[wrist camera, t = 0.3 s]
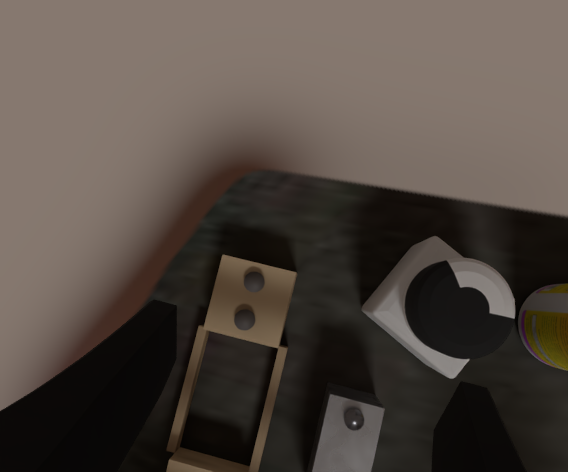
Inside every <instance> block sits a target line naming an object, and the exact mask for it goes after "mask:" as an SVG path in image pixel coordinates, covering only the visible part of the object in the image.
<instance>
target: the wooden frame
mask: <svg viewBox="0 0 568 472" xmlns="http://www.w3.org/2000/svg"><path fill="white" fill-rule="evenodd" d="M296 276H297V273H296V272H292V271H288V270H284V269H280V268H276V267H272V266H268V265H264V264H260V263H256V262H251V261H247V260H243V259H239V258H235V257H231V256H227V255H222V259H221V263H220V266H219V270H218V274H217V278H216V282H215V286H214V289H213V293H212V297H211V301H210V305H209V309H208V313H207V316H206V320H205V324H204V325H200V326H199V327H198V331H197V335H196V338H195V342H194V346H193V350H192V354H191V358H190V361H189V365H188V369H187V373H186V377H185V381H184V384H183V388H182V392H181V396H180V400H179V404H178V407H177V411H176V415H175V419H174V423H173V427H172V430H171V434H170V438H169V442H168V446H167V450H166V451H169V452H173V453H174V454H173V456H172V457H171V458H170V459H169V463H168V467H167V470H166V472H258V470H259V466H260V462H261V457H262V453H263V449H264V445H265V441H266V437H267V433H268V428H269V424H270V420H271V416H272V412H273V408H274V403H275V399H276V395H277V391H278V387H279V383H280V378H281V374H282V370H283V366H284V362H285V358H286V353H287V349H288V346H284V345H281V344H280V342H281V338H282V334H283V330H284V326H285V322H286V317H287V313H288V309H289V305H290V301H291V297H292V293H293V289H294V284H295V280H296ZM209 331H212V332H216V333H220V334H224V335H228V336H232V337H236V338H240V339H243V340H247V341H251V342H255V343H259V344H263V345H267V346H271V347H275V348H278V347H279V348H278V352H277V356H276V361H275V365H274V369H273V373H272V377H271V381H270V385H269V390H268V394H267V398H266V402H265V406H264V410H263V414H262V418H261V423H260V427H259V431H258V435H257V439H256V443H255V447H254V451H253V456H252V460H251V464H250V466H247V465H243V464H239V463H236V462H232V461H228V460H225V459H221V458H218V457H214V456H210V455H207V454H203V453H199V452H196V451H192V450H189V449H185V448H181V447H180V444H181V440H182V436H183V432H184V428H185V424H186V420H187V417H188V413H189V409H190V405H191V401H192V397H193V393H194V389H195V386H196V382H197V378H198V374H199V370H200V366H201V362H202V359H203V355H204V351H205V347H206V343H207V339H208V335H209Z"/></svg>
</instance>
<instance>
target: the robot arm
mask: <svg viewBox="0 0 568 472" xmlns="http://www.w3.org/2000/svg"><path fill="white" fill-rule="evenodd" d="M176 341H177V306H176V305H173V304H169V303H165V302H161V301H158V300H153V301H151V302H149V303H148V304H147V305H146V306H145V307H144V308H142V309H141V310H140V311H139V312H138V313H137V314H135V315H134V316H133V317H132V318H131V319H129V320H128V321H127V322H126V323H125V324H123V325H122V326H121V327H120V328H119V329H118V330H116V331H115V332H114V333H113V334H111V335H110V336H109V337H108V338H106V339H105V340H104V341H102V342H101V343H100V344H98V345H97V346H96V347H95V348H93V349H92V350H91V351H90V352H88V353H87V354H86V355H84V356H83V357H82V358H80V359H79V360H78V361H76V362H75V363H73V364H72V365H70V366H69V367H68V368H66V369H65V370H64V371H62V372H61V373H59V374H58V375H56V376H55V377H53V378H52V379H51V380H49V381H48V382H46V383H45V384H43V385H42V386H40V387H39V388H37V389H36V390H34V391H33V392H31V393H29V394H28V395H26V396H24V397H23V398H21V399H20V400H18V401H16V402H15V403H13V404H11V405H10V406H8V407H6V408H5V409H3V410H1V411H0V472H117V470H118V469H119V467H120V465H121V464H122V462H123V460H124V458H125V457H126V455H127V453H128V451H129V450H130V448H131V446H132V444H133V443H134V441H135V439H136V437H137V436H138V434H139V432H140V430H141V429H142V427H143V425H144V424H145V422H146V420H147V418H148V416H149V415H150V413H151V411H152V409H153V408H154V406H155V404H156V402H157V401H158V399H159V397H160V395H161V393H162V391H163V389H164V386H165V384H166V382H167V380H168V377H169V375H170V372H171V370H172V368H173V365H174V363H175V360H176ZM432 472H527V471H526V469H525V467H524V465H523V463H522V461H521V459H520V457H519V455H518V453H517V451H516V449H515V447H514V445H513V443H512V441H511V439H510V436H509V434H508V432H507V430H506V428H505V426H504V423H503V421H502V419H501V417H500V415H499V412H498V410H497V408H496V406H495V404H494V401H493V399H492V397H491V395H490V392H489V391H488V389H487V388H485V387H481V386H477V385H473V384H470V383H466V382H462V381H461V382H460V384H459V386H458V388H457V389H456V391H455V393H454V395H453V397H452V398H451V400H450V402H449V404H448V406H447V407H446V409H445V411H444V413H443V414H442V416H441V418H440V420H439V422H438V423H437V425H436V427H435V429H434V437H433V452H432Z"/></svg>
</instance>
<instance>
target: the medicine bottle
mask: <svg viewBox="0 0 568 472" xmlns="http://www.w3.org/2000/svg"><path fill="white" fill-rule="evenodd" d="M362 311H363V312H364V313H365V314H366V315H367V316H368V317H369V318H371V319H372V320H373V321H374V322H375V323H377V324H378V325H379V326H380V327H381V328H383V329H384V330H385V331H386V332H387V333H389V334H390V335H391V336H392V337H393V338H395V339H396V340H397V341H398V342H399V343H400V344H402V345H403V346H404V347H405V348H406V349H408V350H409V351H410V352H411V353H412V354H414V355H415V356H416V357H417V358H418V359H420V360H421V361H422V362H423V363H424V364H426V365H427V366H429V367H431V368H433V369H434V370H436V371H438V372H439V373H441V374H443V375H444V376H446V377H448V378H450V379H452V378H455V377H456V376H457V375H458V373H459V372H460V371H461V370H462V368H463V367H464V366H465V365H466V363H467V362H468V361H469V360H470V359H475V358H480V357H483V356H486V355H488V354H490V353H492V352H493V351H495V350H496V349H497V348H499V347H500V346H501V345H502V344H503V342H504V341H505V340H506V339H507V337H508V335H509V334H510V332H511V329H512V327H513V323H514V319H515V299H514V298H513V295H512V292H511V290H510V288H509V286H508V284H507V282H506V281H505V279H504V278H503V277H502V276H501V275H500V274H499V273H498V272H497V271H496V270H495V269H494V268H492V267H491V266H489V265H488V264H485V263H483V262H481V261H478V260H475V259H470V258H464V257H462V256H461V255H460V254H459V253H457V252H456V251H455V250H454V249H452V248H451V247H450V246H449V245H447V244H446V243H445V242H444V241H442V240H441V239H440V238H439V237H437V236H433V237H430V238H428V239H426V240H424V241H422V242H420V243H417V244H415V245H413V246H412V247H411V248H410V249H409V250H408V251H407V253H406V254H405V255H404V256H403V257H402V259H401V260H400V261H399V262H398V263H397V265H396V266H395V267H394V268H393V270H392V271H391V272H390V273H389V274H388V276H387V277H386V278H385V279H384V280H383V282H382V283H381V284H380V285H379V287H378V288H377V289H376V290H375V291H374V293H373V294H372V295H371V296H370V297H369V299H368V300H367V301H366V302H365V303H364V305H363V306H362Z"/></svg>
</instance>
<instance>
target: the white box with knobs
mask: <svg viewBox="0 0 568 472" xmlns="http://www.w3.org/2000/svg"><path fill="white" fill-rule="evenodd" d="M384 410H385V408H384V407H383V405H382V404H381V402H380V401H379V399H378V398H377V396H376V395H375V394H371V393H368V392H364V391H360V390H356V389H352V388H348V387H345V386H341V385H337V384H333V383H329V382H327V386H326V390H325V395H324V399H323V403H322V408H321V412H320V416H319V421H318V425H317V429H316V434H315V438H314V442H313V447H312V451H311V455H310V460H309V464H308V468H307V472H371V469H372V465H373V460H374V456H375V451H376V446H377V442H378V437H379V433H380V428H381V423H382V419H383V414H384Z"/></svg>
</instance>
